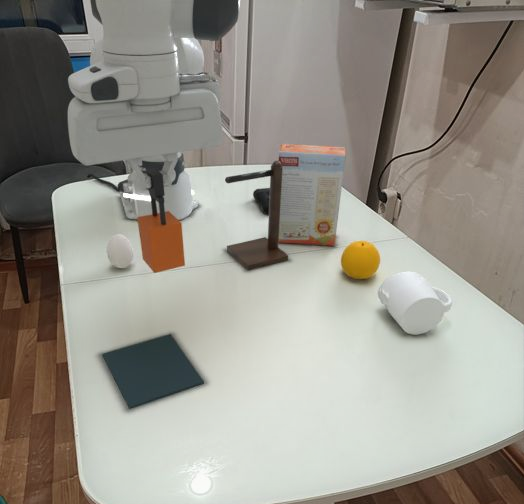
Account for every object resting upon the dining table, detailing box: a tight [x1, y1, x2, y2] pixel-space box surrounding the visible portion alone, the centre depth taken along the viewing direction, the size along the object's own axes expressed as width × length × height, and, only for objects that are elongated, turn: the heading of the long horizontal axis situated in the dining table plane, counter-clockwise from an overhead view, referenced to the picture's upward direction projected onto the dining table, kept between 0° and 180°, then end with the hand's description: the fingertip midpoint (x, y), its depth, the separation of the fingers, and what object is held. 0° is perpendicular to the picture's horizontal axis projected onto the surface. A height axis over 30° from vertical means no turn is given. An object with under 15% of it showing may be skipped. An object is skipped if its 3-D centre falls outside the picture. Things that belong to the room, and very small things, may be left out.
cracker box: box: [278, 143, 346, 247], centre depth 114 cm, size 14×6×21 cm, turn 84°
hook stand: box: [224, 160, 289, 271], centre depth 107 cm, size 10×13×20 cm
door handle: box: [252, 187, 270, 215], centre depth 135 cm, size 3×20×16 cm
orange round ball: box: [340, 240, 381, 280], centre depth 106 cm, size 8×8×8 cm
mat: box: [101, 333, 205, 409], centre depth 82 cm, size 14×12×1 cm
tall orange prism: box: [136, 168, 186, 274], centre depth 75 cm, size 5×5×14 cm
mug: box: [377, 271, 453, 336], centre depth 93 cm, size 12×9×8 cm
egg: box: [106, 233, 135, 269], centre depth 105 cm, size 5×5×7 cm
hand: (155, 186), depth 72 cm, fingers closed on tall orange prism
